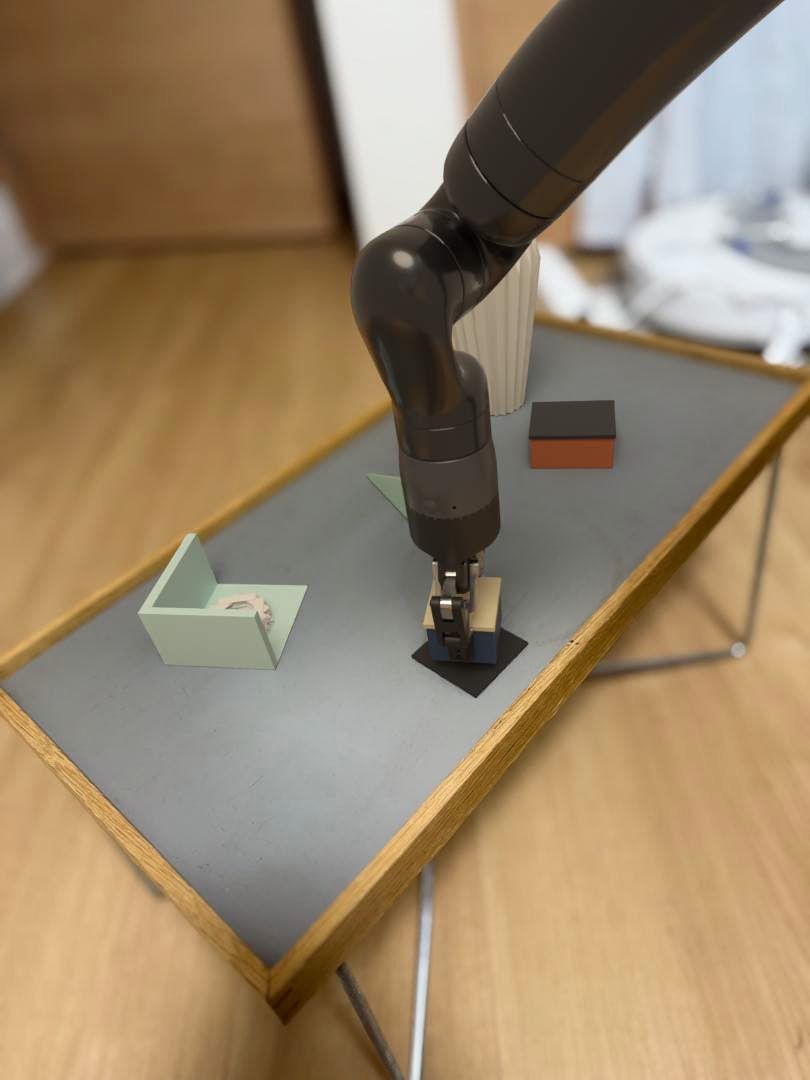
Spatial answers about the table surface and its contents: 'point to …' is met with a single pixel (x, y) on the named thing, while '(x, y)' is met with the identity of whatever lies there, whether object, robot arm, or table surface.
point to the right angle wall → (217, 615)
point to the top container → (474, 623)
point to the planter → (390, 490)
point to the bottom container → (572, 434)
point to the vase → (504, 333)
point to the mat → (474, 664)
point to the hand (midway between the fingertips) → (467, 630)
